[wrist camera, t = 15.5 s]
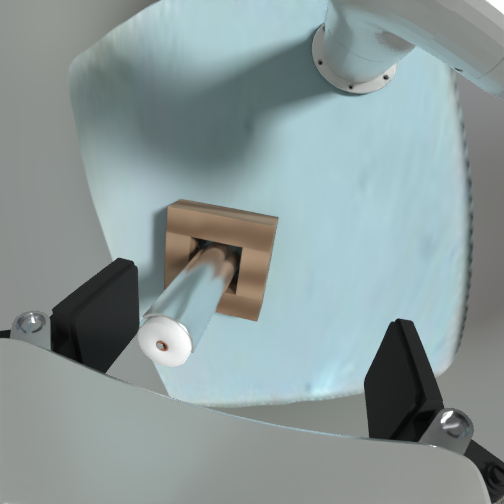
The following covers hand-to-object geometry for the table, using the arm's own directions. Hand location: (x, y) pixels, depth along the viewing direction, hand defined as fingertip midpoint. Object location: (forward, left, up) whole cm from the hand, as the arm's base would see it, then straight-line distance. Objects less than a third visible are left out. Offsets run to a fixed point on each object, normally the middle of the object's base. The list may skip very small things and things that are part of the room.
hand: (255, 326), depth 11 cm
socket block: (+15, -10, -38) cm, 42 cm away
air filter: (+15, -10, -38) cm, 42 cm away
